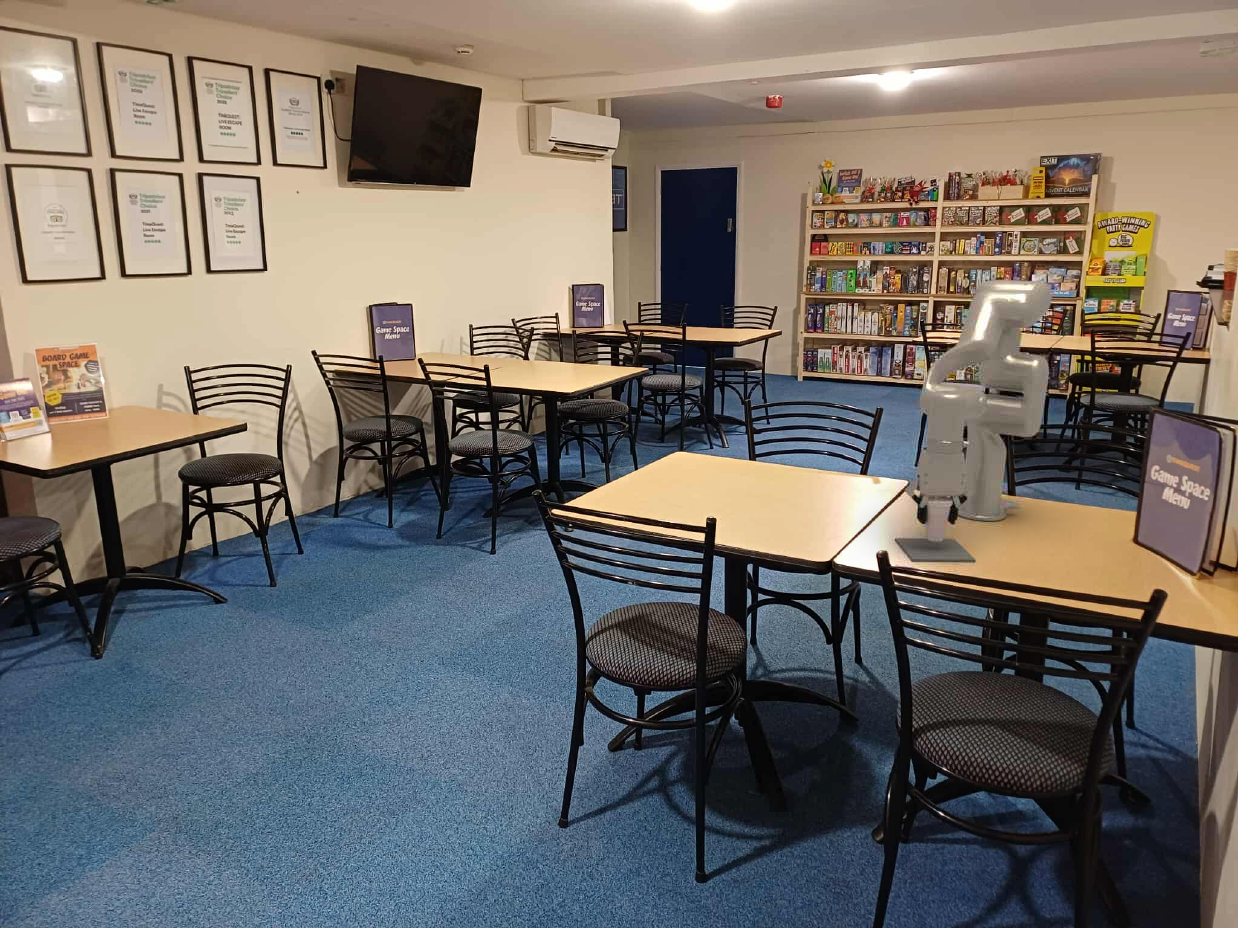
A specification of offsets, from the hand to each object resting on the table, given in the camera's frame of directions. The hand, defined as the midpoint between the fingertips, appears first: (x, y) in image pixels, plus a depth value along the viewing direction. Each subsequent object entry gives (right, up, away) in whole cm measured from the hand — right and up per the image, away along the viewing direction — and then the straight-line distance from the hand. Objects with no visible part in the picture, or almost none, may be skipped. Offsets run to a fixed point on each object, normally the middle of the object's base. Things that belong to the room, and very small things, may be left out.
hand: (936, 521), depth 198 cm
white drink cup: (0, -4, +1) cm, 4 cm away
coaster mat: (0, -7, +2) cm, 7 cm away
